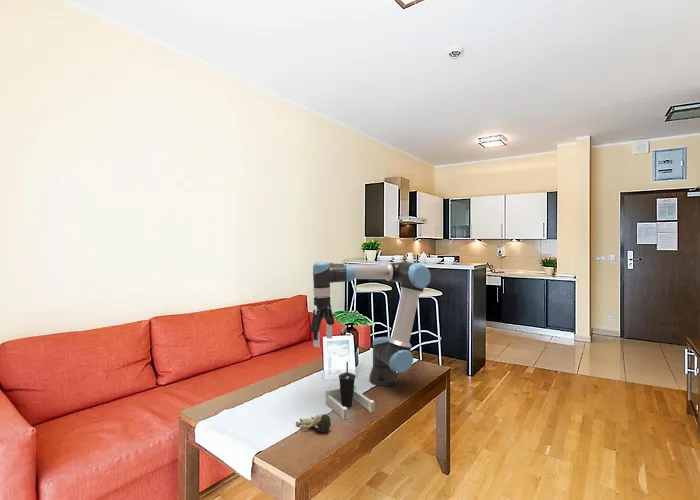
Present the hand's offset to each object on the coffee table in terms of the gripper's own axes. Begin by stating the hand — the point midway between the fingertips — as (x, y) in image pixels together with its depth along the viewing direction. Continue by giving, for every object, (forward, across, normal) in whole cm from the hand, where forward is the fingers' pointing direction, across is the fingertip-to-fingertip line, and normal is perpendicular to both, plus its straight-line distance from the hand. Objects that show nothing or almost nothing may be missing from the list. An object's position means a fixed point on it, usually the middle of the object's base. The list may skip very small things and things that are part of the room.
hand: (323, 342), depth 172 cm
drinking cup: (+29, -2, +10) cm, 31 cm away
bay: (+29, 0, +13) cm, 31 cm away
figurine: (+28, +22, +5) cm, 36 cm away
